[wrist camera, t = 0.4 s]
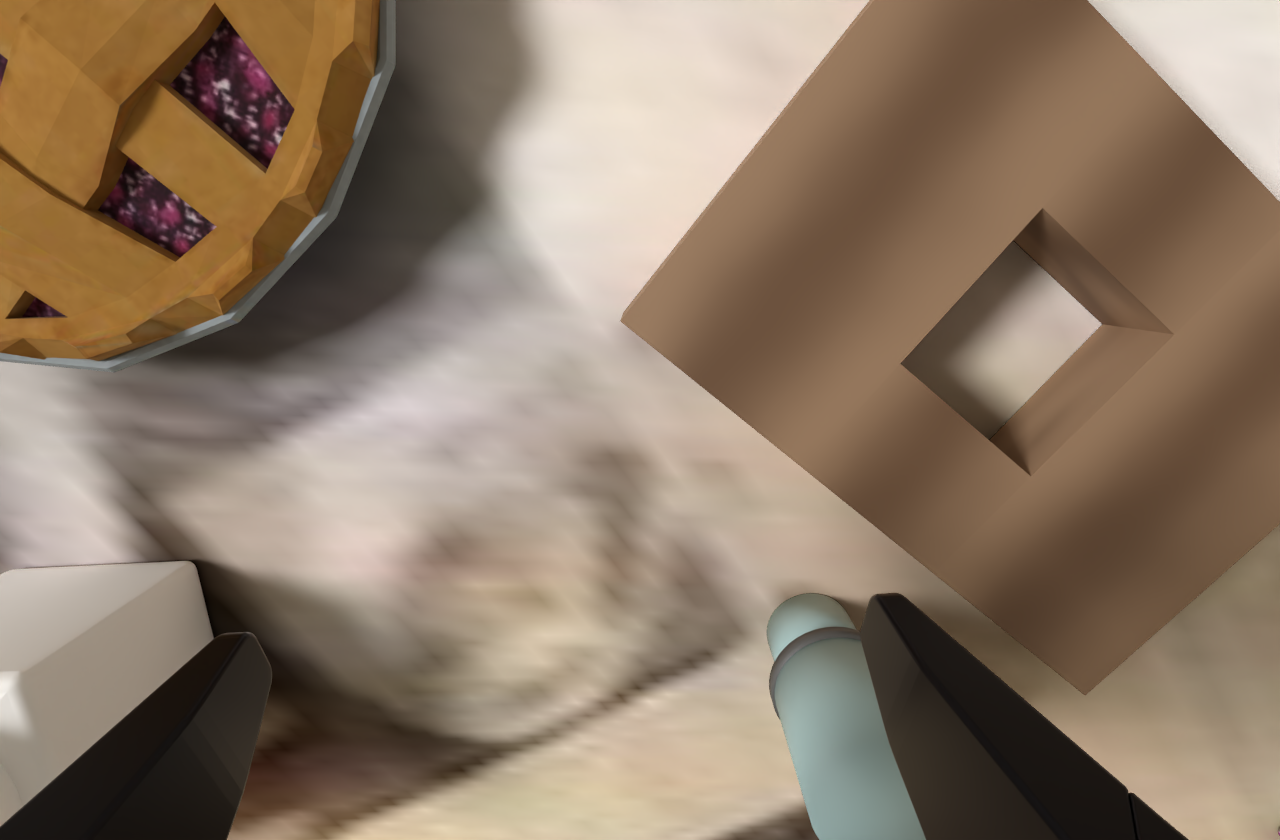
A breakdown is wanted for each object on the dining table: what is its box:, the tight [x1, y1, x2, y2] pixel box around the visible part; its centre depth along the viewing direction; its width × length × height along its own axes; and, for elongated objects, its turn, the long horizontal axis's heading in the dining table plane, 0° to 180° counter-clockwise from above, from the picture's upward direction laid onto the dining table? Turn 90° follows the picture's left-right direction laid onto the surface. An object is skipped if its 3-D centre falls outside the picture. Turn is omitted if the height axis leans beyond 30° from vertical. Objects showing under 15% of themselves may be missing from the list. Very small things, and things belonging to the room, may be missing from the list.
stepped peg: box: [767, 593, 926, 840], centre depth 21 cm, size 4×4×8 cm
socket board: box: [621, 0, 1280, 695], centre depth 20 cm, size 20×14×3 cm
